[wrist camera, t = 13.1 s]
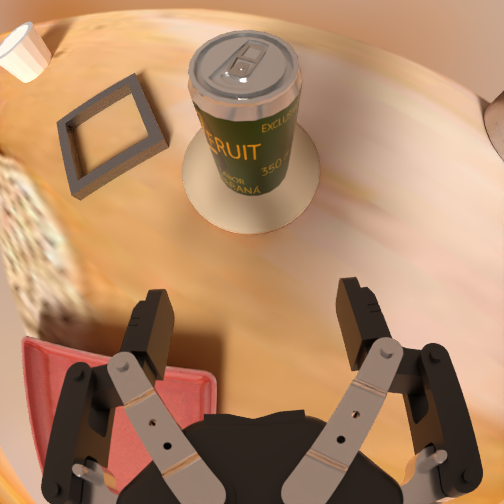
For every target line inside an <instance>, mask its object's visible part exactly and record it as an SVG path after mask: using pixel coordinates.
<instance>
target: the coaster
mask: <svg viewBox="0 0 504 504" xmlns="http://www.w3.org/2000/svg"><path fill="white" fill-rule="evenodd" d="M319 178H320V162H319V157H318V153H317V150H316V148H315V145H314V143H313V142H312V140H311V138H310V137H309V136H308V134H307V133H306V132H305V131H304V130H303V129H302V128H301V127H300V126H299V125H298V124H297V123H296V124H295V130H294V136H293V142H292V148H291V154H290V160H289V166H288V170H287V173H286V176H285V178H284V180H283V181H282V182H281V184H280V185H279V186H278V187H277V188H275V189H274V190H272V191H271V192H269V193H266V194H263V195H260V196H246V195H243V194H239V193H236V192H235V191H233V190H232V189H230V188H228V187H227V185H226V184H225V183H224V182H223V180H222V179H221V177H220V174H219V171H218V169H217V166H216V163H215V161H214V158H213V155H212V153H211V150H210V147H209V144H208V142H207V139H206V136H205V134H204V131H203V128H201V129H200V130H199V132H198V133H197V134H196V135H195V136H194V138H193V139H192V141H191V142H190V144H189V146H188V148H187V150H186V153H185V156H184V160H183V165H182V179H183V184H184V189H185V191H186V194H187V196H188V198H189V200H190V202H191V204H192V205H193V206H194V207H195V209H196V210H197V211H198V213H199V214H200V215H201V216H203V217H204V218H205V219H206V220H207V221H209V222H210V223H211V224H213V225H215V226H217V227H219V228H221V229H223V230H226V231H229V232H233V233H237V234H246V235H252V234H262V233H268V232H271V231H275V230H277V229H279V228H282V227H284V226H286V225H287V224H289V223H291V222H292V221H293V220H295V219H296V218H297V217H299V216H300V215H301V213H302V212H303V211H304V210H305V209H306V208H307V206H308V205H309V204H310V202H311V200H312V198H313V196H314V194H315V192H316V189H317V186H318V183H319Z"/></svg>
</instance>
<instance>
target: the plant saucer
mask: <svg viewBox="0 0 504 504" xmlns="http://www.w3.org/2000/svg"><path fill="white" fill-rule="evenodd" d="M111 358H112V357H110V356H105V355H101V354H96V353H91V352H87V351H83V350H78V349H74V348H70V347H66V346H62V345H58V344H54V343H51V342H47V341H43V340H40V339H37V338H33V337H30V336H25V337H23V339H22V361H23V374H24V385H25V392H26V400H27V407H28V413H29V419H30V424H31V430H32V435H33V439H34V444H35V449H36V452H37V457H38V461H39V464H40V468H41V472H42V475H43V470H44V464H45V458H46V453H47V448H48V443H49V438H50V433H51V429H52V424H53V420H54V416H55V412H56V408H57V404H58V400H59V396H60V393H61V389H62V385H63V382H64V378H65V375H66V372H67V370H68V369H69V367H70V366H71V365H73V364H74V363H77V362H85V363H87V364H88V365H89V366H90V367H91V368H92V367H96V366H101V365H105V364H108V362H109V360H110V359H111ZM154 388H155V389H156V391H157V392H158V394H159V395H160V397H161V399H162V400H163V402H164V403H165V405H166V406H167V408H168V409H169V411H170V412H171V414H172V415H173V417H174V418H175V419H176V421H177V422H178V424H179V425H180V426H181V428H182V429H184V428H186V427H187V426H189V425H191V424H193V423H195V422H198V421H201V420H203V419H204V414H216V404H217V380H216V378H215V376H214V375H213V374H212V373H211V372H209V371H205V370H198V369H189V368H181V367H172V366H166V369H165V375H164V381H160V380H156V382H155V387H154ZM152 460H153V459H152V458H151V456H150V454H149V453H148V451H147V450H146V448H145V446H144V445H143V443H142V441H141V439H140V438H139V436H138V434H137V432H136V431H135V429H134V427H133V425H132V424H131V422H130V420H129V418H128V416H127V414H126V412H125V410H124V408H123V406H119V407H116V410H115V416H114V423H113V429H112V436H111V444H110V452H109V460H108V470H110V471H111V472H112V473H113V475H114V477H115V480H116V487H117V490H118V492H119V493H120V492H121V490H122V489H123V488H124V487H125V486H126V485H127V484H128V483H130V482H131V481H132V480H133V479H134V478H135V477H136V476H137V475H138V474H139V473H140V472H141V471H142V470H143V469H144V468H145V467H146V466H147V465H148V464H149V463H150V462H151V461H152Z"/></svg>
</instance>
